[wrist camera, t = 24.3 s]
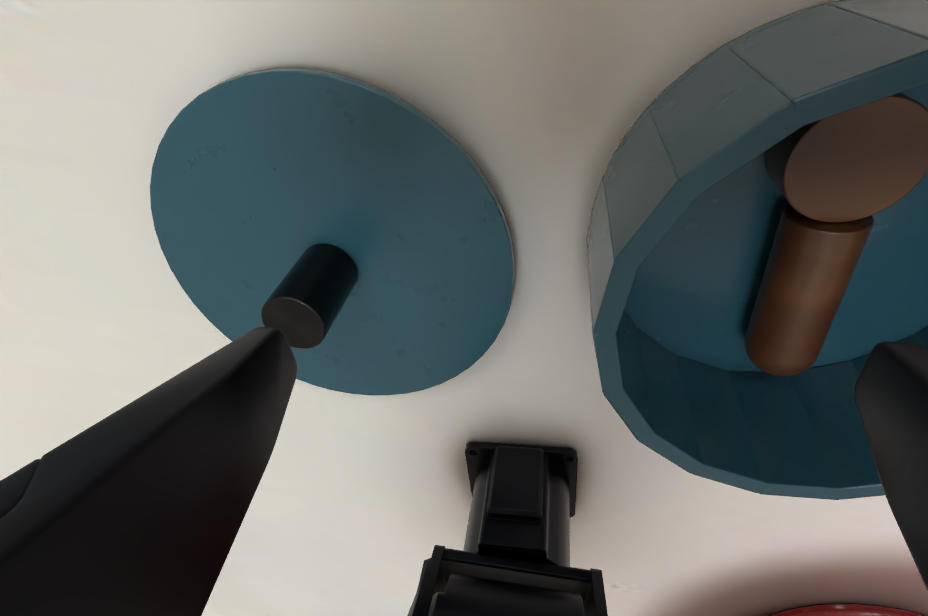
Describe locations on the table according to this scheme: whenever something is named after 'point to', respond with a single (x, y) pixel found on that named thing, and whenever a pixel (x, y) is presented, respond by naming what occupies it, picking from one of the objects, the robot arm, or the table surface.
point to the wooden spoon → (829, 220)
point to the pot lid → (334, 229)
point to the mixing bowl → (845, 611)
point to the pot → (752, 256)
